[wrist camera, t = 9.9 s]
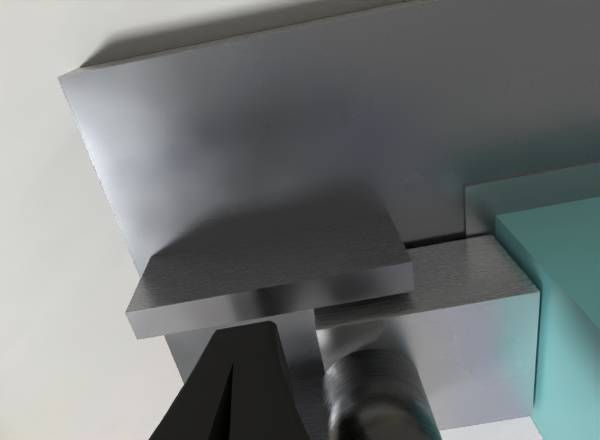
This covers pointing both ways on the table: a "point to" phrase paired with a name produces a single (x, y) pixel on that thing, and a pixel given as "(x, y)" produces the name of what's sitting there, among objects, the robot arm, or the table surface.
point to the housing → (562, 311)
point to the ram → (432, 348)
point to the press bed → (333, 159)
